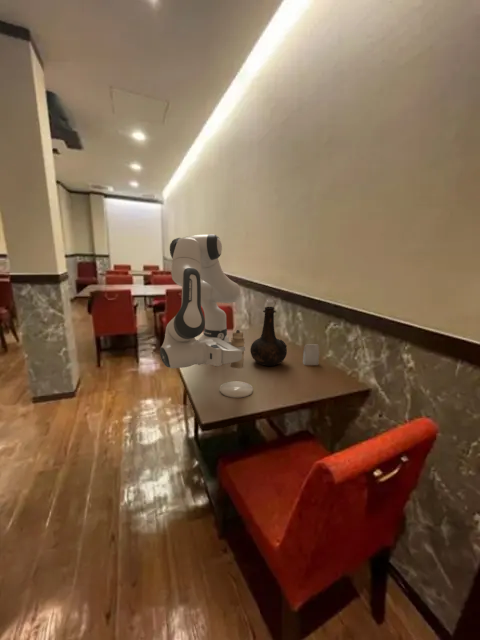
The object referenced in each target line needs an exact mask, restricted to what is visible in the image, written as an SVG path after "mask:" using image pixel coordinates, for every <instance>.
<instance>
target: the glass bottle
mask: <svg viewBox="0 0 480 640" xmlns="http://www.w3.org/2000/svg"><path fill="white" fill-rule="evenodd" d="M262 312H263V313H264V317H263V326H262V331H261V334H260V337H259V338H257V339H255V340H254V341H253V342H252V343H251V346H250V348H249V349H250V350H249V351H250V355H251V357H252V359H253V360H254V361H255V362H256V363H258V364H260V365H262V366H268V367H269V366H271V367H273V366H277V365H278V364H281V363H282V362H283V361H284V360H285V358H286V357H287V355H288V352H287V351H288V350H287V344H286V343H285V342H284V340H282V339H278V338H277V337H276V332H275V321H274V320H275V318H274V317H275V315H274V314H275V313H276V310H275V307H273V306H265V307H264V310H263V311H262Z"/></svg>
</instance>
